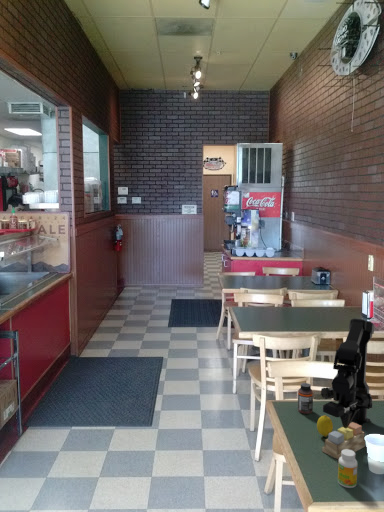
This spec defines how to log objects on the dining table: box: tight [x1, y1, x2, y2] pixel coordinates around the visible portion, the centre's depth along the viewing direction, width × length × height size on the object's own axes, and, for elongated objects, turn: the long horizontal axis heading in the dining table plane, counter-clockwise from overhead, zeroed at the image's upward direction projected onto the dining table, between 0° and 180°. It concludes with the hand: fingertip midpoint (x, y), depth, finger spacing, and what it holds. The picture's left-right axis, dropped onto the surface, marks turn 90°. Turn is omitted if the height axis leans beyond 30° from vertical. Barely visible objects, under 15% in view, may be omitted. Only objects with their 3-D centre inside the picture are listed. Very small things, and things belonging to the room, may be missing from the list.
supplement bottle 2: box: [337, 449, 358, 489], centre depth 141 cm, size 5×5×10 cm
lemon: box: [316, 414, 334, 438], centre depth 169 cm, size 6×6×8 cm
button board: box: [321, 430, 366, 461], centre depth 161 cm, size 16×7×4 cm, turn 128°
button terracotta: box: [348, 421, 363, 436], centre depth 164 cm, size 4×4×4 cm
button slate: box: [327, 430, 344, 445], centre depth 158 cm, size 4×4×4 cm
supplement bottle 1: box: [297, 382, 314, 415], centre depth 190 cm, size 6×6×11 cm
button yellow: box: [337, 426, 353, 440], centre depth 161 cm, size 4×4×4 cm
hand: (345, 427), depth 160 cm, fingers closed
